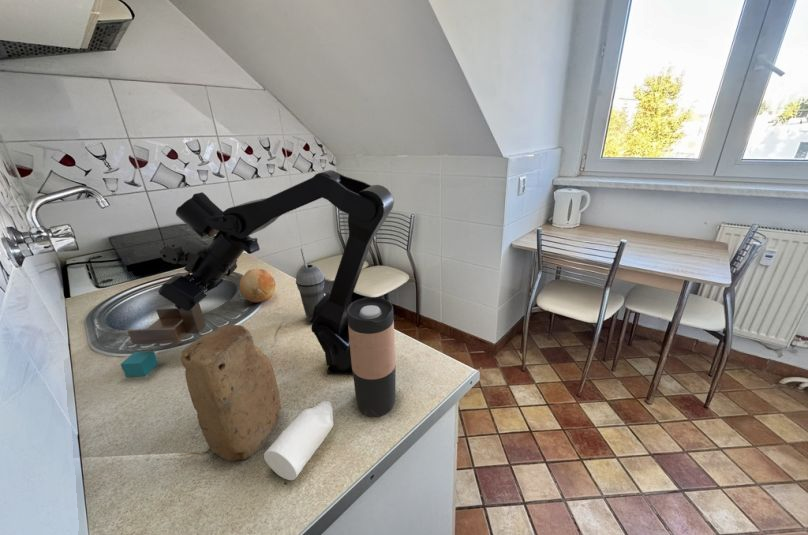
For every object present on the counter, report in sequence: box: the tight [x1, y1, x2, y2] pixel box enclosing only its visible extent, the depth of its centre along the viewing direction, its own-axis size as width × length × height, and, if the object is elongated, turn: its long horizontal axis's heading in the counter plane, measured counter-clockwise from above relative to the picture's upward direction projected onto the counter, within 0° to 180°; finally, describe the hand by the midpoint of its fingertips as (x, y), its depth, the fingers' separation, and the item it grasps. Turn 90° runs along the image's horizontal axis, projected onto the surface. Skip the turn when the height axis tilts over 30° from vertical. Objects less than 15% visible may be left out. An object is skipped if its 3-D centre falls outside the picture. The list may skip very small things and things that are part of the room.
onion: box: [239, 268, 276, 303], centre depth 95 cm, size 10×10×10 cm
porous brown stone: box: [180, 324, 282, 462], centre depth 50 cm, size 11×8×20 cm
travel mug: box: [347, 296, 397, 418], centre depth 56 cm, size 8×8×20 cm
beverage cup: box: [295, 248, 326, 323], centre depth 83 cm, size 7×7×20 cm
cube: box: [120, 350, 159, 378], centre depth 67 cm, size 4×4×4 cm
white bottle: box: [263, 400, 334, 481], centre depth 51 cm, size 6×12×6 cm, turn 156°
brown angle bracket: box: [127, 272, 207, 345], centre depth 68 cm, size 12×9×13 cm
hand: (182, 303), depth 68 cm, fingers closed on brown angle bracket, 3 cm apart
